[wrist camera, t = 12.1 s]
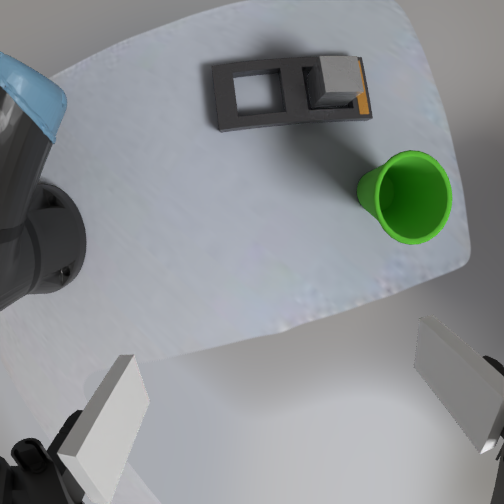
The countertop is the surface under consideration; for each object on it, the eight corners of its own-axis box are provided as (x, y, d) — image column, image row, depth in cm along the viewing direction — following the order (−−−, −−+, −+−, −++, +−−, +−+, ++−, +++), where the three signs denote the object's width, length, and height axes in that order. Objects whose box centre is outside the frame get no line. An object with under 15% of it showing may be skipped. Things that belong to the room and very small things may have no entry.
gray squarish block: (310, 108, 36) (325, 92, 28) (306, 78, 35) (319, 56, 27) (342, 107, 36) (363, 91, 28) (337, 77, 35) (357, 56, 27)
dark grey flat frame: (220, 132, 37) (219, 129, 35) (213, 71, 35) (211, 65, 33) (366, 120, 36) (372, 118, 34) (356, 62, 34) (361, 57, 32)
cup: (326, 188, 38) (355, 193, 27) (376, 141, 37) (418, 131, 26) (371, 241, 40) (410, 264, 29) (417, 195, 38) (466, 203, 28)
